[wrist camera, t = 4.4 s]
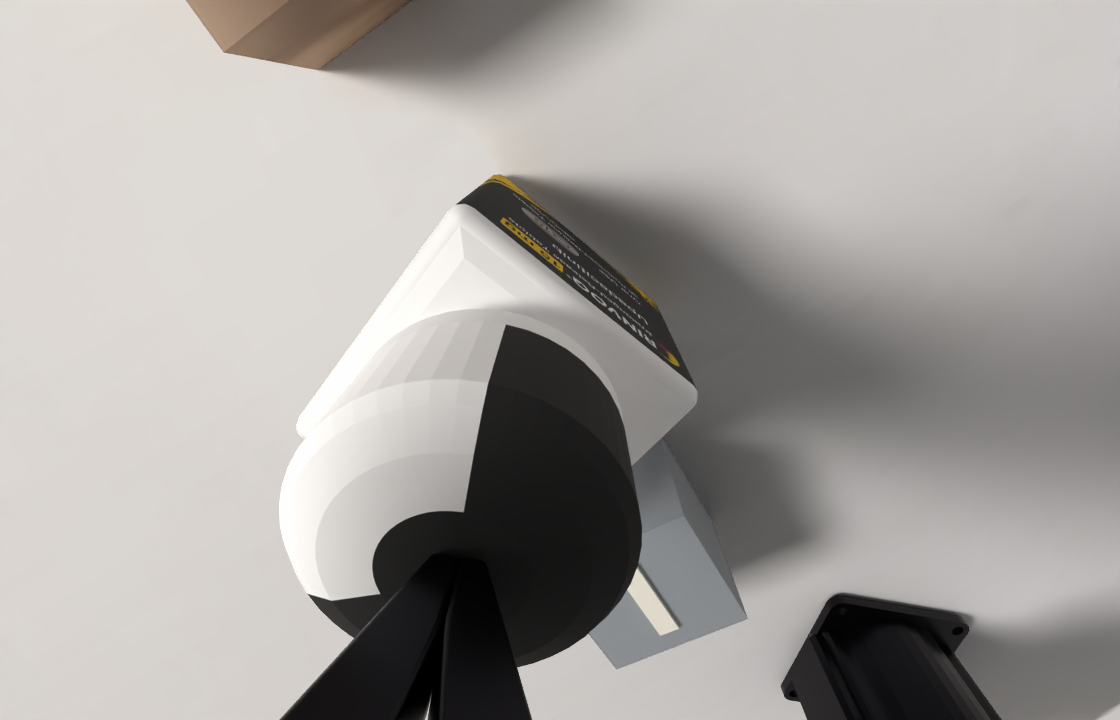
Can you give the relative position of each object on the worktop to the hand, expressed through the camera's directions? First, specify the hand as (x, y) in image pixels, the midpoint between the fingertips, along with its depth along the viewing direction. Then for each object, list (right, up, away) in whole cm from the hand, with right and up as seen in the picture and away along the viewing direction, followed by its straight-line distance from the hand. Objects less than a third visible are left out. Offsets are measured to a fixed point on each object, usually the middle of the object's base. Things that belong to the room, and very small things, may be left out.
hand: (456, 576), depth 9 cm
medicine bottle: (0, +5, +11) cm, 12 cm away
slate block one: (+5, -3, +14) cm, 15 cm away
